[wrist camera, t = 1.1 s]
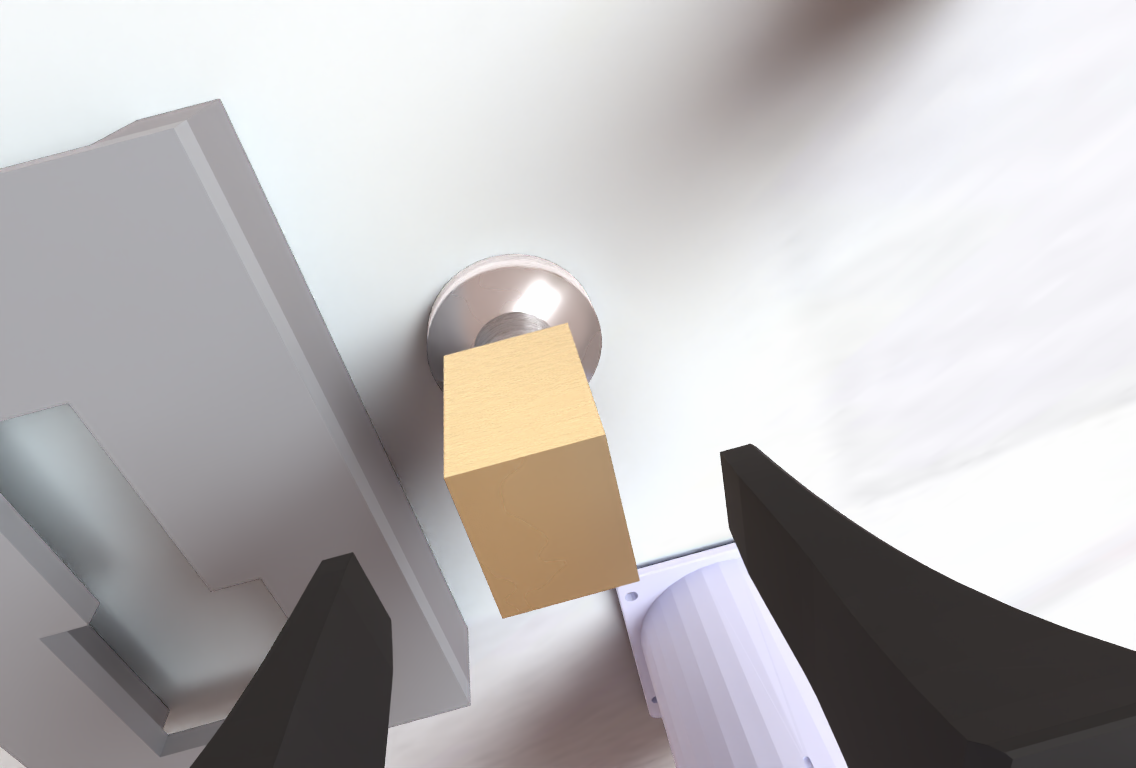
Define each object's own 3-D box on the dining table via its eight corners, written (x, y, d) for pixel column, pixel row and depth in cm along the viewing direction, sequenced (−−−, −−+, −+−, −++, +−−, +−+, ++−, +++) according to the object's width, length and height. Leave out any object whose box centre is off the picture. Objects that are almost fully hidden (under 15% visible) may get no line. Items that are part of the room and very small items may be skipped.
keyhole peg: (609, 380, 22) (688, 584, 15) (457, 421, 22) (463, 645, 15) (576, 233, 19) (654, 397, 12) (403, 280, 19) (379, 472, 12)
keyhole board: (468, 628, 27) (470, 705, 24) (119, 723, 27) (82, 812, 24) (219, 98, 16) (173, 127, 13) (-367, 252, 16) (-538, 314, 13)
